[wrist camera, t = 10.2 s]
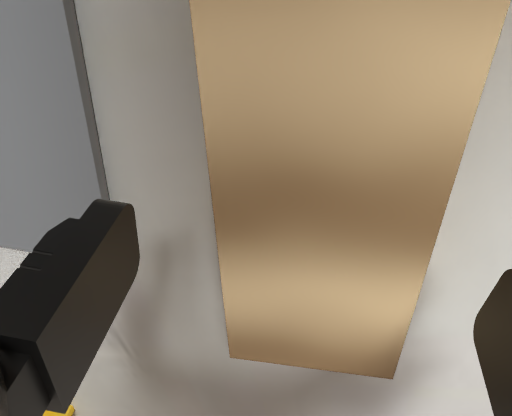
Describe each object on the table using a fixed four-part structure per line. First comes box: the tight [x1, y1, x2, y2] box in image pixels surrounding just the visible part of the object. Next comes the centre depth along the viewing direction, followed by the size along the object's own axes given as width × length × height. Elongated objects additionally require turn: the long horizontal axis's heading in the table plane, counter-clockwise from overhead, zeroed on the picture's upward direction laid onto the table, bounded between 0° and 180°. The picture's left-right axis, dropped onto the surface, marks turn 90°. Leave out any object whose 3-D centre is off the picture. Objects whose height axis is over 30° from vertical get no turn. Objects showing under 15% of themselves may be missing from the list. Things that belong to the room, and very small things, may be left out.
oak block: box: [189, 0, 511, 379], centre depth 12 cm, size 14×6×4 cm, turn 1°
